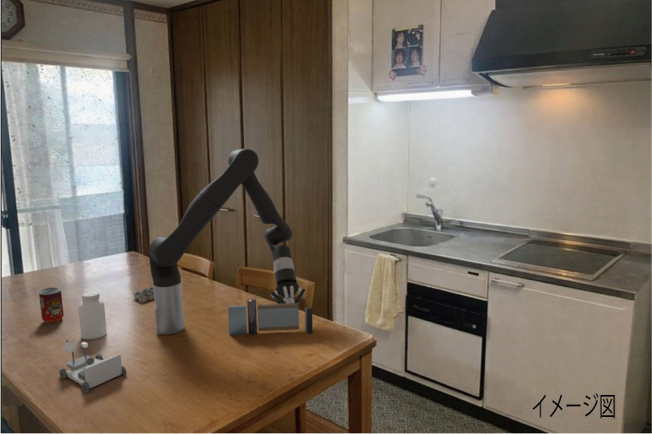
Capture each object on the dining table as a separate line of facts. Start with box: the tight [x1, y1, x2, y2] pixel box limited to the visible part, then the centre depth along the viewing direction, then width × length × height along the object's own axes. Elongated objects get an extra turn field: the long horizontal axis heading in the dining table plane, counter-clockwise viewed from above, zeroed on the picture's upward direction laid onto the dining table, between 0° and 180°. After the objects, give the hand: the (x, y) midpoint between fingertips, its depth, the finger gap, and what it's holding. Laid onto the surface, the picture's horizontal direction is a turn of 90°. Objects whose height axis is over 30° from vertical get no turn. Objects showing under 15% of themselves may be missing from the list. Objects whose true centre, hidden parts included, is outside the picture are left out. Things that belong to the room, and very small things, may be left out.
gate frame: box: [227, 298, 314, 336], centre depth 164 cm, size 29×3×12 cm, turn 92°
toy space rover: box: [58, 339, 127, 394], centre depth 136 cm, size 18×10×12 cm
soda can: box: [38, 286, 64, 325], centre depth 175 cm, size 7×7×12 cm
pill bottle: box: [78, 291, 107, 340], centre depth 162 cm, size 8×8×15 cm
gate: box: [257, 303, 300, 332], centre depth 164 cm, size 14×1×9 cm, turn 95°
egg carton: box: [132, 286, 154, 303], centre depth 200 cm, size 11×8×4 cm
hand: (292, 315), depth 166 cm, fingers closed
